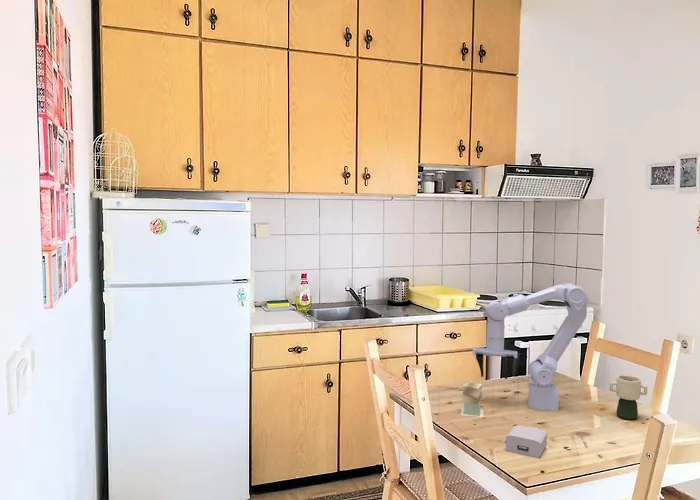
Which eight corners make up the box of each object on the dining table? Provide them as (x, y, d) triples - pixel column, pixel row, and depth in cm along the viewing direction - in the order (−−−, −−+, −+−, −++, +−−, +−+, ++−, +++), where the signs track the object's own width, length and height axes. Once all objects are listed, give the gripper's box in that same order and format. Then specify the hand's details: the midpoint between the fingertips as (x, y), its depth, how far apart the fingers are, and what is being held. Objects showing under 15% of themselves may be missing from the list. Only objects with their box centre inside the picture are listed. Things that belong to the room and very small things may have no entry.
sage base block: (480, 410, 178) (480, 398, 177) (479, 415, 173) (480, 403, 173) (464, 408, 179) (464, 397, 179) (463, 414, 174) (464, 402, 174)
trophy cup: (644, 415, 177) (646, 377, 177) (647, 423, 171) (649, 383, 170) (607, 411, 181) (609, 373, 181) (609, 418, 175) (611, 378, 174)
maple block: (481, 399, 177) (482, 384, 176) (477, 403, 172) (478, 388, 172) (466, 396, 179) (466, 381, 179) (462, 401, 174) (462, 386, 174)
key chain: (559, 432, 164) (559, 429, 164) (585, 436, 161) (585, 433, 161) (561, 449, 152) (561, 446, 152) (590, 453, 149) (590, 450, 149)
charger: (550, 439, 158) (540, 459, 145) (518, 432, 163) (505, 451, 150) (551, 423, 158) (540, 441, 145) (519, 417, 163) (506, 434, 150)
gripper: (517, 336, 185) (515, 375, 186) (473, 333, 188) (472, 371, 189) (518, 340, 178) (516, 381, 179) (473, 337, 181) (471, 377, 182)
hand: (493, 377), depth 183 cm, fingers open, 7 cm apart
